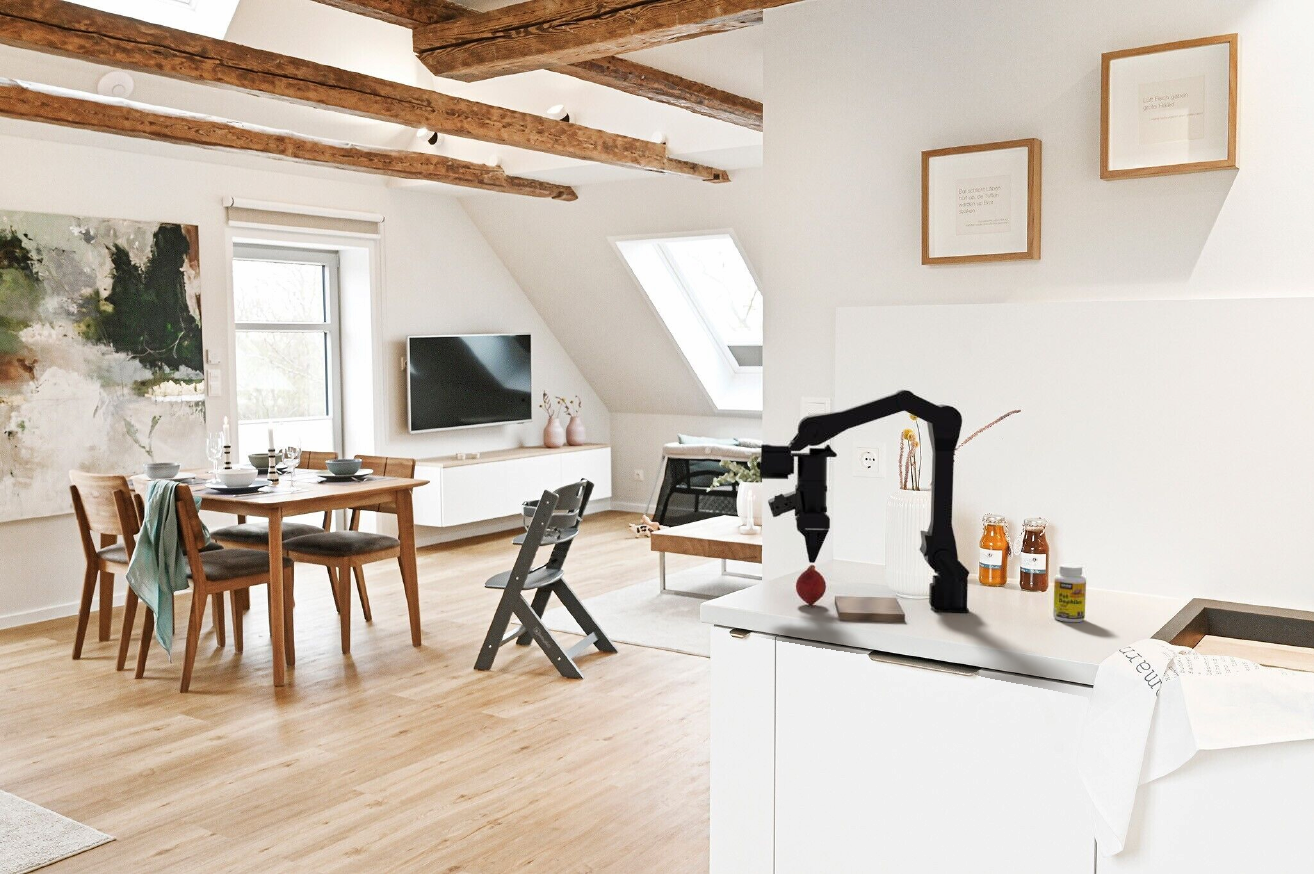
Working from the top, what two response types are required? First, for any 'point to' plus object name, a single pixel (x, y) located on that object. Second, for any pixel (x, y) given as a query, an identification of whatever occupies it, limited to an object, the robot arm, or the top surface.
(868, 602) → the walnut board
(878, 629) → the top surface
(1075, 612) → the supplement bottle
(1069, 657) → the top surface
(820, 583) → the onion
